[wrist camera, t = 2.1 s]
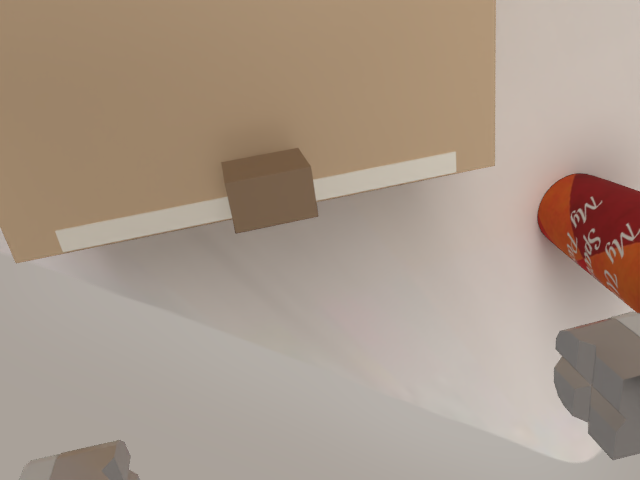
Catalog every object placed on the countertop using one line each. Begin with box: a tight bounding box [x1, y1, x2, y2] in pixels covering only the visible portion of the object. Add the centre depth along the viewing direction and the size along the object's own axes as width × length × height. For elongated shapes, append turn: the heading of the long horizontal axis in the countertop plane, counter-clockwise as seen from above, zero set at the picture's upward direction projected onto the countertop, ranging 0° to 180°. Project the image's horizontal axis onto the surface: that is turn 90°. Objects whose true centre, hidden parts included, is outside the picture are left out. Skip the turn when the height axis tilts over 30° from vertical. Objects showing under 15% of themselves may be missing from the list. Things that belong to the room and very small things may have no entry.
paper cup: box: [538, 174, 640, 313], centre depth 35 cm, size 8×8×14 cm
